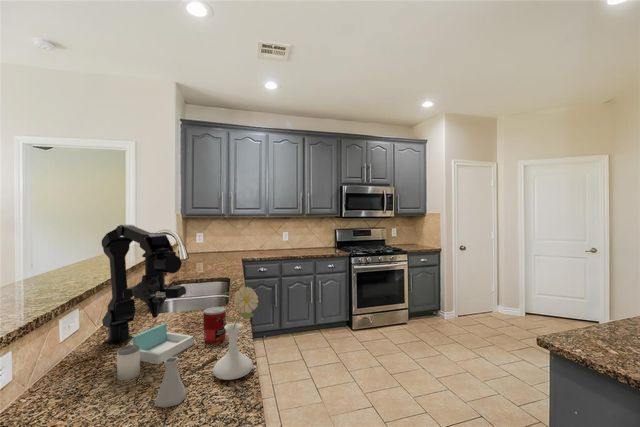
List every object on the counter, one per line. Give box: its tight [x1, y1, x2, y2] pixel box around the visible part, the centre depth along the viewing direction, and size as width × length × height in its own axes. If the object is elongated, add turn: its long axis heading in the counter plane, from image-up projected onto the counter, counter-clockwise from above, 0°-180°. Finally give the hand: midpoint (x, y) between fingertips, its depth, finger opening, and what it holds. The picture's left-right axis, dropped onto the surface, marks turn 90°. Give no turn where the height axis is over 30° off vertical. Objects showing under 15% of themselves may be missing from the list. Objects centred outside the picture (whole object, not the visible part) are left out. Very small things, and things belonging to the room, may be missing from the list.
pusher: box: [132, 323, 168, 350], centre depth 102 cm, size 1×12×6 cm, turn 161°
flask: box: [154, 356, 187, 409], centre depth 74 cm, size 7×7×10 cm
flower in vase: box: [212, 286, 259, 381], centre depth 86 cm, size 13×11×25 cm
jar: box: [116, 344, 141, 382], centre depth 85 cm, size 6×6×8 cm
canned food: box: [203, 306, 227, 344], centre depth 110 cm, size 8×8×11 cm
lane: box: [140, 331, 194, 365], centre depth 101 cm, size 17×15×3 cm
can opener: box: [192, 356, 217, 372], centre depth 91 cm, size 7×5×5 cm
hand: (155, 317), depth 98 cm, fingers closed
